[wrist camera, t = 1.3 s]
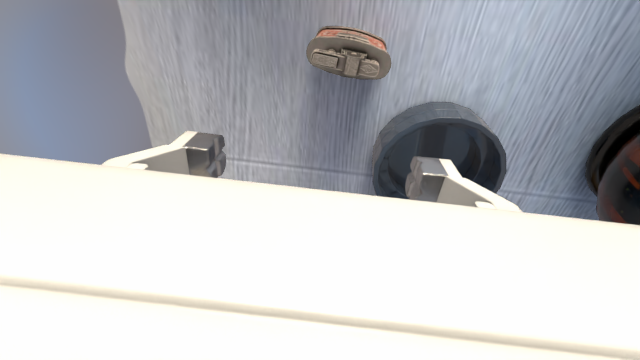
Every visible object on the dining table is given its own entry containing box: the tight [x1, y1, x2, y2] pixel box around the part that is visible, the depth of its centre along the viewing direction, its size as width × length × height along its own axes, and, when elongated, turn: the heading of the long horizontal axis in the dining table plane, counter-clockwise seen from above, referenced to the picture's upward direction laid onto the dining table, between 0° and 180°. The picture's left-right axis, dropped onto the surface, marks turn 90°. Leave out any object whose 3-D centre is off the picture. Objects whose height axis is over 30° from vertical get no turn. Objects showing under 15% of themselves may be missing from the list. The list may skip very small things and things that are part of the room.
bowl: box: [372, 102, 506, 199], centre depth 39 cm, size 15×15×6 cm
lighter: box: [307, 26, 391, 79], centre depth 31 cm, size 8×3×10 cm, turn 80°
